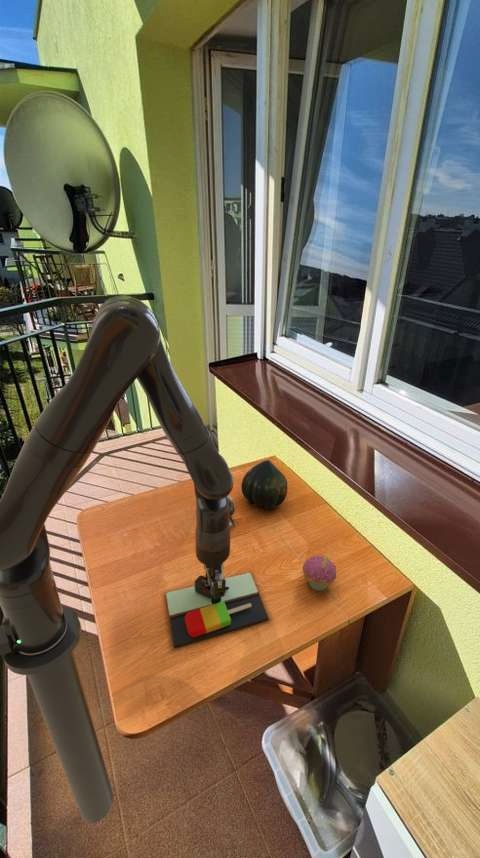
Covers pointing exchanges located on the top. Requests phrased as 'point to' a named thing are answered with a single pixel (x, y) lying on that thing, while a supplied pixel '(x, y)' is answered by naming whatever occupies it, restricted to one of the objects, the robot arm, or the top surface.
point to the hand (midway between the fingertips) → (213, 591)
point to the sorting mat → (235, 596)
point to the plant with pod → (231, 511)
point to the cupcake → (319, 572)
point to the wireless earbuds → (204, 586)
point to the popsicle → (210, 618)
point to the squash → (264, 485)
